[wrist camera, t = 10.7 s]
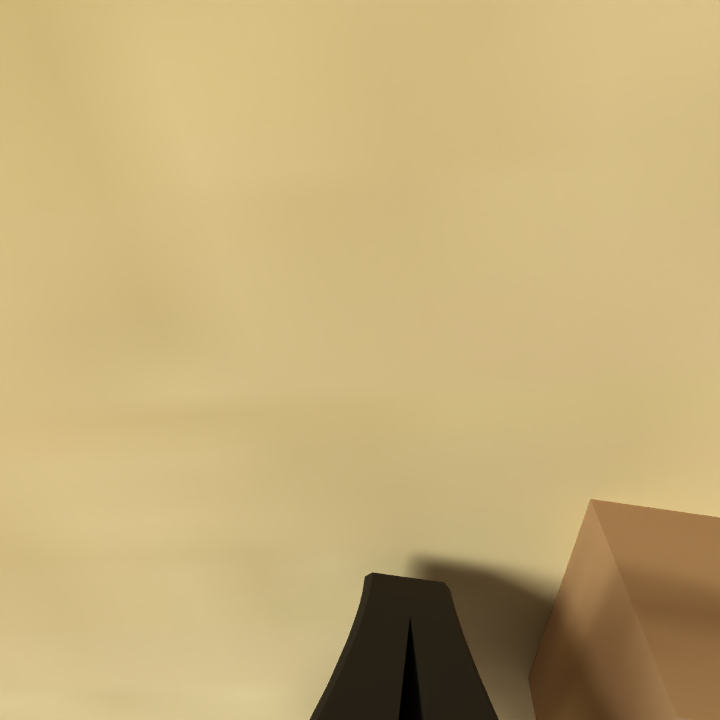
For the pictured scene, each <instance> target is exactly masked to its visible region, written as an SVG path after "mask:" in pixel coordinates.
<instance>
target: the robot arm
mask: <svg viewBox="0 0 720 720" xmlns="http://www.w3.org/2000/svg"><path fill="white" fill-rule="evenodd" d="M310 720H499V719H498V717H497V715H496V713H495V711H494V708H493V706H492V704H491V701H490V699H489V697H488V694H487V692H486V690H485V687H484V685H483V683H482V680H481V678H480V676H479V673H478V671H477V668H476V666H475V663H474V661H473V658H472V656H471V653H470V650H469V648H468V645H467V642H466V640H465V637H464V634H463V631H462V628H461V625H460V623H459V620H458V616H457V613H456V610H455V607H454V603H453V600H452V596H451V592H450V589H449V588H448V586H447V585H446V584H445V583H443V582H436V581H429V580H422V579H415V578H407V577H400V576H393V575H386V574H379V573H371V574H369V575H367V576H365V580H364V586H363V592H362V597H361V601H360V604H359V608H358V611H357V614H356V617H355V620H354V623H353V626H352V628H351V631H350V634H349V637H348V639H347V642H346V644H345V646H344V649H343V651H342V653H341V656H340V658H339V660H338V662H337V665H336V667H335V669H334V672H333V674H332V676H331V678H330V681H329V683H328V685H327V687H326V689H325V691H324V693H323V695H322V697H321V699H320V701H319V703H318V704H317V706H316V708H315V710H314V712H313V714H312V716H311V718H310Z"/></svg>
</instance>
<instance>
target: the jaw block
mask: <svg viewBox="0 0 720 720" xmlns="http://www.w3.org/2000/svg"><path fill="white" fill-rule="evenodd" d="M528 679H529V684H530V690H531V695H532V701H533V706H534V712H535V717H536V720H720V518H718V517H712V516H705V515H698V514H691V513H684V512H677V511H670V510H663V509H656V508H649V507H642V506H635V505H628V504H621V503H614V502H607V501H600V500H593V499H591V500H590V502H589V505H588V508H587V511H586V514H585V517H584V520H583V523H582V525H581V528H580V531H579V534H578V537H577V540H576V543H575V546H574V548H573V551H572V554H571V557H570V560H569V563H568V566H567V569H566V572H565V574H564V577H563V580H562V583H561V586H560V589H559V592H558V595H557V597H556V600H555V603H554V606H553V609H552V612H551V615H550V618H549V620H548V623H547V626H546V629H545V632H544V635H543V638H542V641H541V643H540V646H539V649H538V652H537V655H536V658H535V661H534V664H533V666H532V669H531V672H530V675H529V678H528Z"/></svg>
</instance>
